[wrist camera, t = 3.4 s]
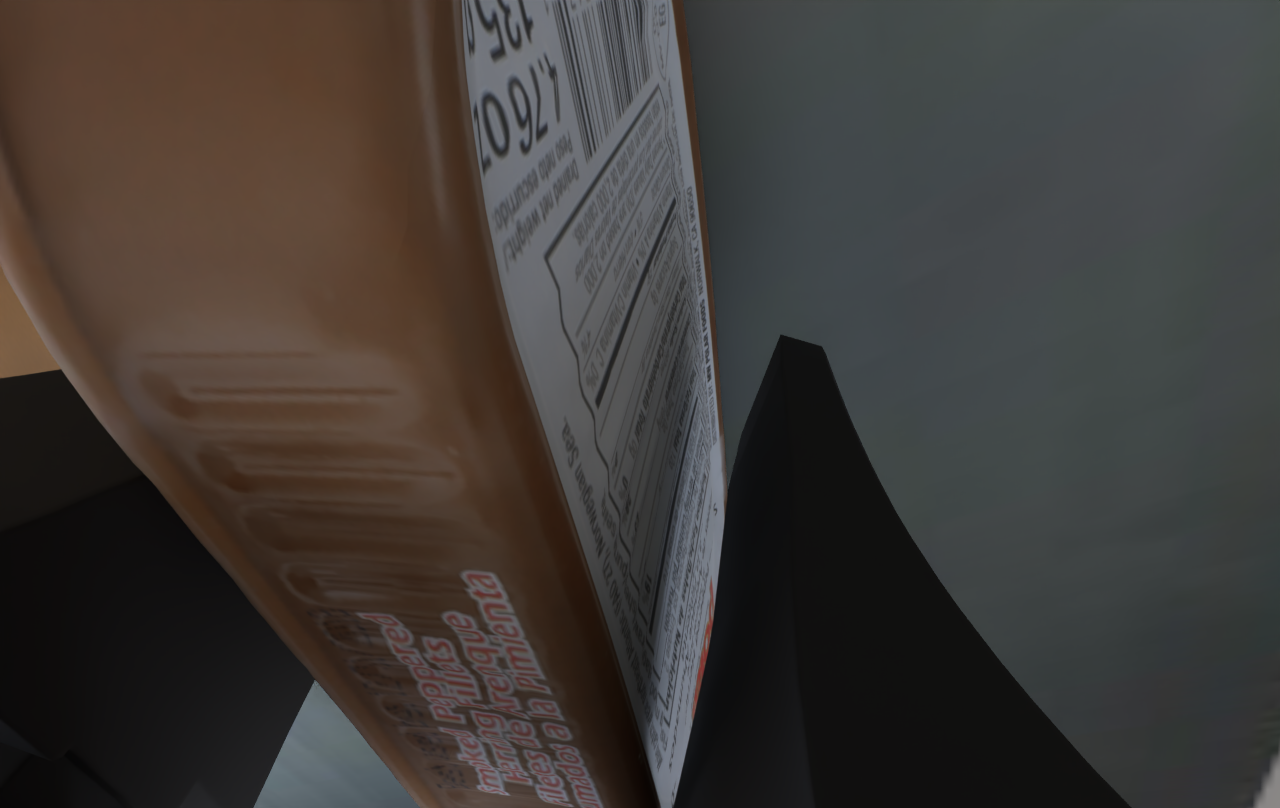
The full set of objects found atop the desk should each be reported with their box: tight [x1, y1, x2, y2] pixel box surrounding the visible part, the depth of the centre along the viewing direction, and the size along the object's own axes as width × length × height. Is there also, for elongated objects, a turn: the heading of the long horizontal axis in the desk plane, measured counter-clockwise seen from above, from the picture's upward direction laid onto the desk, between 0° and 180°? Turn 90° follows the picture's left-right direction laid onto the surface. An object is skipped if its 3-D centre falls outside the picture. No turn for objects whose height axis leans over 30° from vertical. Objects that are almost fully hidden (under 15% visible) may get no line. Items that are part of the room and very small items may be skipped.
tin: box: [0, 0, 727, 808], centre depth 9 cm, size 15×3×8 cm, turn 9°
